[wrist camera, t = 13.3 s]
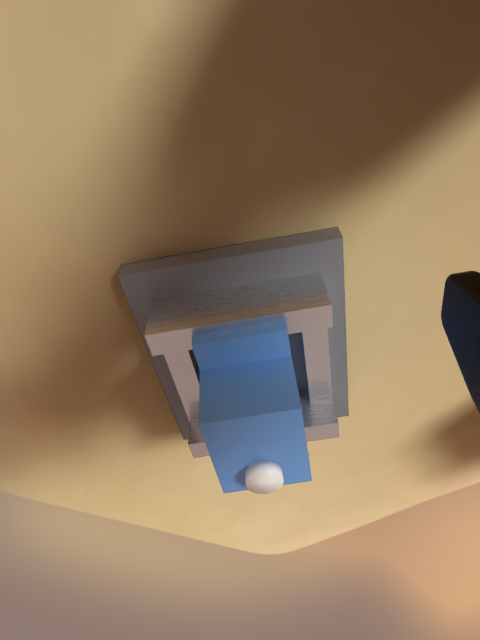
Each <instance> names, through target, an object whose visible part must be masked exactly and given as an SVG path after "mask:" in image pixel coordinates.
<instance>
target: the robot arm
mask: <svg viewBox="0 0 480 640" xmlns="http://www.w3.org/2000/svg"><path fill="white" fill-rule="evenodd" d="M441 319H442V324H443V327H444V330H445V332H446V335H447V337H448V340H449V342H450V345H451V347H452V350H453V352H454V355H455V357H456V360H457V362H458V365H459V367H460V370H461V373H462V375H463V378H464V380H465V383H466V385H467V388H468V390H469V392H470V395H471V397H472V399H473V401H474V403H475V405H476V407H477V409H478V411H479V413H480V273H479V272H476V271H467V272H461V273H455V274H451V275H450V276H448V277H447V279H446V282H445V289H444V296H443V303H442V311H441Z"/></svg>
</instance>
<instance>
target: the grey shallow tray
mask: <svg viewBox="0 0 480 640" xmlns="http://www.w3.org/2000/svg"><path fill="white" fill-rule="evenodd" d="M118 279H119V281H120V284H121V286H122V289H123V291H124V294H125V296H126V299H127V301H128V303H129V306H130V308H131V311H132V313H133V316H134V318H135V321H136V323H137V326H138V328H139V330H140V333H141V335H142V338H143V340H144V343H145V345H146V348H147V350H148V353H149V355H150V357H151V360H152V362H153V365H154V367H155V370H156V372H157V375H158V377H159V380H160V382H161V384H162V387H163V389H164V392H165V394H166V397H167V399H168V402H169V404H170V407H171V409H172V411H173V414H174V416H175V419H176V421H177V424H178V426H179V429H180V431H181V434H182V436H183V438H184V440H186V439H189V441H188V445H189V448H190V450H191V453H192V455H193V458H197V457H204V456H210V455H209V452H208V449H207V446H206V444H205V441H204V438H203V436H202V433H201V430H200V428H199V425H198V415H199V383H200V370H199V367H198V363H197V360H196V357H195V354H194V351H193V348H192V336H195V335H201V334H207V333H213V332H219V331H225V330H231V329H237V328H243V327H249V326H255V325H261V324H266V323H272V322H278V321H284V320H286V325H287V330H288V337H289V344H290V350H291V357H292V362H293V367H294V372H295V377H296V382H297V387H298V392H299V397H300V402H301V407H302V414H303V421H304V428H305V435H306V442H308V441H315V440H322V439H329V438H336V437H339V423H338V419H337V417H342V416H349V412H348V381H347V351H346V320H345V290H344V260H343V237H342V235H341V233H340V231H339V229H338V227H334V228H329V229H323V230H317V231H312V232H306V233H300V234H295V235H289V236H283V237H278V238H272V239H266V240H261V241H255V242H249V243H244V244H238V245H232V246H226V247H221V248H215V249H209V250H204V251H198V252H192V253H187V254H181V255H175V256H170V257H164V258H158V259H153V260H147V261H141V262H136V263H130V264H124V265H121V267H120V271H119V274H118Z"/></svg>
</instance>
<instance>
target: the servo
mask: <svg viewBox="0 0 480 640" xmlns="http://www.w3.org/2000/svg"><path fill="white" fill-rule="evenodd" d="M192 348H193V351H194V354H195V357H196V360H197V363H198V367H199V370H200V383H199V415H198V425H199V428H200V430H201V433H202V436H203V438H204V441H205V444H206V446H207V449H208V452H209V455H210V457H211V460H212V463H213V465H214V468H215V471H216V473H217V476H218V479H219V481H220V484H221V487H222V489H223V492H224V493H229V492H236V491H243V490H250V491H251V492H254V493H259V494H267V493H272V492H275V491H277V490H279V489H280V488H281V487H282V486H283V485H285V484H293V483H300V482H307V481H312V478H311V470H310V463H309V456H308V449H307V442H306V435H305V428H304V421H303V414H302V407H301V402H300V397H299V392H298V387H297V382H296V377H295V372H294V367H293V362H292V357H291V350H290V344H289V337H288V330H287V325H286V320H284V321H278V322H272V323H266V324H261V325H255V326H249V327H243V328H237V329H231V330H225V331H219V332H213V333H207V334H201V335H195V336H192Z"/></svg>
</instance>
